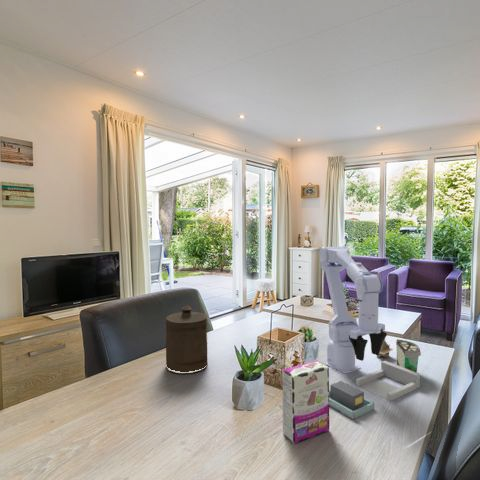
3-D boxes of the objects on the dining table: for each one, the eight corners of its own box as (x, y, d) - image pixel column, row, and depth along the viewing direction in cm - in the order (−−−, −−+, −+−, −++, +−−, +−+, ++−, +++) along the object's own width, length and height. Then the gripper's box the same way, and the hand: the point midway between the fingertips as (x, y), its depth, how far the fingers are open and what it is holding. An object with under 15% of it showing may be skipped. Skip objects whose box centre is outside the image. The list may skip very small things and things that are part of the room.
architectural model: (393, 358, 132) (393, 339, 131) (383, 363, 128) (383, 343, 127) (384, 355, 135) (385, 337, 134) (374, 360, 130) (375, 340, 130)
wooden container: (212, 359, 131) (211, 302, 130) (200, 376, 117) (199, 312, 116) (175, 356, 134) (174, 300, 133) (159, 373, 119) (158, 310, 118)
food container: (425, 383, 110) (426, 353, 110) (404, 381, 112) (405, 351, 111) (414, 367, 122) (414, 339, 122) (395, 366, 124) (396, 338, 123)
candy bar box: (316, 421, 90) (317, 359, 89) (330, 431, 86) (330, 366, 85) (281, 433, 85) (281, 368, 84) (293, 445, 81) (293, 376, 80)
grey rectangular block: (330, 400, 100) (330, 384, 100) (340, 395, 102) (340, 380, 102) (353, 412, 93) (353, 396, 93) (363, 407, 96) (364, 391, 95)
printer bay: (355, 385, 110) (356, 371, 109) (384, 373, 118) (384, 360, 118) (390, 401, 99) (391, 386, 99) (419, 387, 108) (420, 373, 107)
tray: (319, 399, 101) (319, 393, 101) (339, 391, 105) (339, 385, 105) (353, 419, 91) (353, 412, 90) (374, 409, 95) (374, 403, 95)
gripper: (364, 320, 99) (363, 366, 100) (394, 313, 107) (393, 355, 108) (344, 315, 105) (344, 358, 106) (374, 308, 113) (373, 348, 114)
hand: (367, 356), depth 107 cm, fingers open, 7 cm apart
